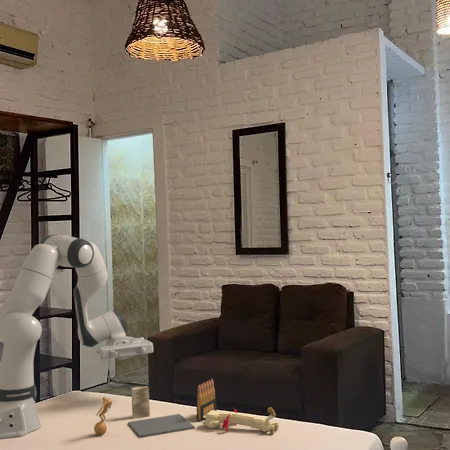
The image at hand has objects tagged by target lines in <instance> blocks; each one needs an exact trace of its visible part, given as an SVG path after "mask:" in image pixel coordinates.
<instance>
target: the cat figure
mask: <svg viewBox="0 0 450 450" xmlns="http://www.w3.org/2000/svg"><path fill="white" fill-rule="evenodd" d="M233 411H234V412H228V411H224V412H222V411H221V410H217V411H215V410H212V411H210V412H209V413H207V414H206V415H205V416H203V417H202V420H203V421H200V422H201V423H202V424H203V426H206V427H209V428H210V429H214V428H218V427H219V426H220V425H221V424H222V425H221V428H224V429H225V431H227V432H229V425H233V426H234V427H236V426H237V425H240V426H244V427H250V428H251V429H256V430H260V431H261V432H263V433H267V432H269V434H270V435H274V434H275V431H276V432H277V431H278V430H279V422H278V421H274V422H271V421H270V420H273V419H274V418H275V417H276V414H277V413H276V412H275V409H274V408H273V407H267V411H266V412H267V414H269V415H268V416H267V417H266V418H264V417H257V416H255V415H252V414H251V415H250V414H245V413H239V412H238V411H237V409H235V408H234V409H233Z"/></svg>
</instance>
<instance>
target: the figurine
mask: <svg viewBox="0 0 450 450" xmlns="http://www.w3.org/2000/svg"><path fill="white" fill-rule="evenodd" d="M102 402H103V403H102V405H101V407H100V408H99V410H98V412H97V413H96V415H95V417H99V418H100V419H101V420H100V421H98V422H96V423H95V424H94V426H93V430H94V431H93V432H94V433H95V434H96V435H99V436H102V435H104V434H105V433H106V432H107V429H108V427H107V424H106V423H105V420H106V415H105V414H107V412H108V410H111V407H112V404H113V401H112V400H111V399H109V398H107V397H105V396H103V397H102Z"/></svg>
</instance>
